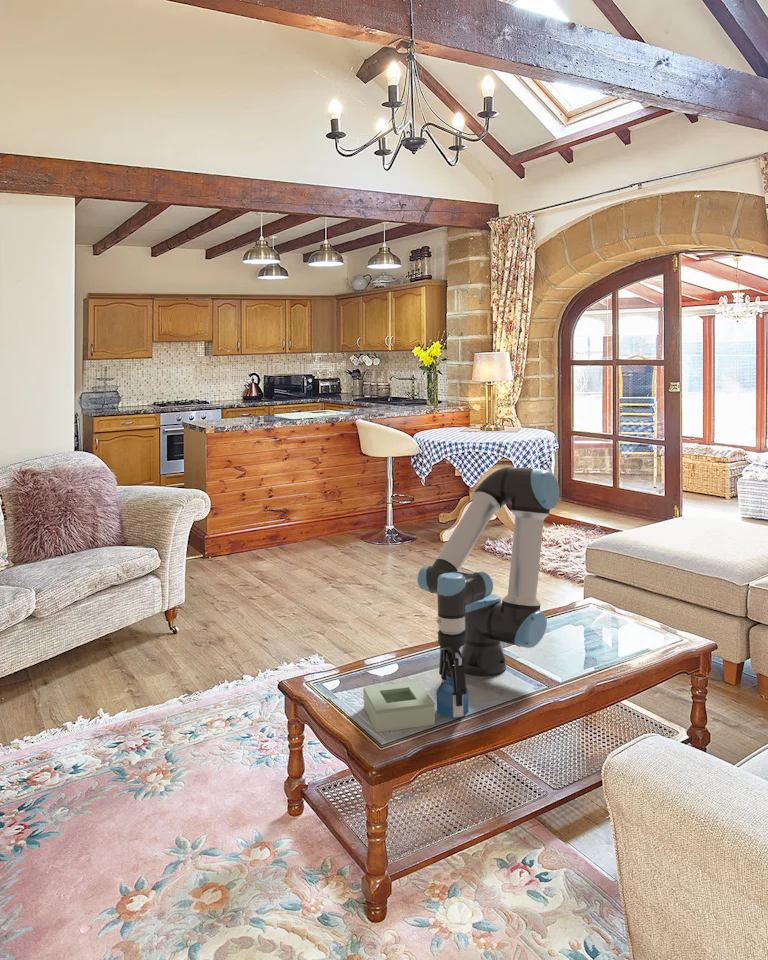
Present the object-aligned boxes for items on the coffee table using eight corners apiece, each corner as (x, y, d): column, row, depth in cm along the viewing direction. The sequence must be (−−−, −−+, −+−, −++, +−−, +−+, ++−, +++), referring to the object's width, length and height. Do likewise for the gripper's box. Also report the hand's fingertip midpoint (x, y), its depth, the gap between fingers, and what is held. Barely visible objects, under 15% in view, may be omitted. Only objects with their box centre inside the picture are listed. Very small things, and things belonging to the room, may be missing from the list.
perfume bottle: (436, 712, 209) (436, 670, 207) (451, 705, 213) (450, 664, 212) (453, 719, 204) (453, 676, 203) (468, 711, 209) (468, 670, 207)
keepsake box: (418, 700, 217) (417, 680, 216) (435, 724, 201) (434, 703, 201) (363, 707, 213) (363, 687, 212) (376, 732, 198) (376, 710, 197)
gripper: (427, 619, 215) (428, 695, 218) (451, 644, 195) (452, 727, 197) (452, 617, 217) (452, 692, 220) (478, 641, 196) (479, 723, 199)
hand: (452, 709), depth 209 cm, fingers closed on perfume bottle, 8 cm apart
